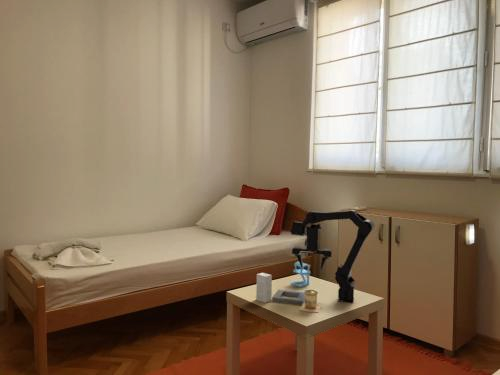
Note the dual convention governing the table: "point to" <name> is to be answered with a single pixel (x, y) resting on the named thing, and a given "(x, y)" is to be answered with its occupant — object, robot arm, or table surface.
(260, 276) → the skincare box
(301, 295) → the grey flat rectangular frame
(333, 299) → the table surface
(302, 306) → the pad
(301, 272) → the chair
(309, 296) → the brass flared knob
